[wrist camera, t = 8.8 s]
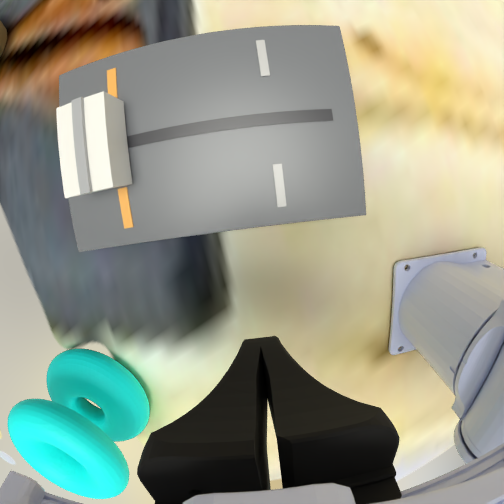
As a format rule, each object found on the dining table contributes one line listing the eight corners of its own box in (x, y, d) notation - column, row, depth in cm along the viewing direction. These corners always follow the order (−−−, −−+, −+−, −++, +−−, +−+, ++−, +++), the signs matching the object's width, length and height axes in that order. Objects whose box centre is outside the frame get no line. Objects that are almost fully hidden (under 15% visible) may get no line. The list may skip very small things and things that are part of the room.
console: (329, 40, 17) (339, 25, 14) (352, 209, 20) (366, 215, 17) (76, 83, 17) (58, 75, 15) (95, 243, 20) (78, 252, 18)
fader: (123, 101, 15) (101, 89, 12) (132, 184, 16) (110, 187, 13) (80, 114, 15) (53, 107, 12) (88, 193, 16) (62, 198, 14)
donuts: (143, 514, 15) (41, 488, 15) (165, 429, 25) (78, 420, 25) (86, 432, 13) (-20, 403, 13) (136, 342, 22) (41, 340, 22)
